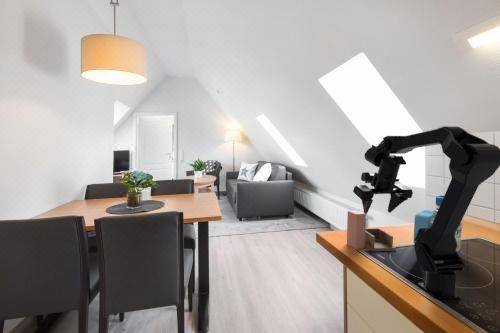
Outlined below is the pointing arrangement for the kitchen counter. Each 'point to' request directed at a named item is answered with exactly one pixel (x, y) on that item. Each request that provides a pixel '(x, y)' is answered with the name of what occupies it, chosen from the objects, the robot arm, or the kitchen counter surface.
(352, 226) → the pink tall block
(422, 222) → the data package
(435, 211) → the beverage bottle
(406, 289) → the kitchen counter surface
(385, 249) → the book rack
